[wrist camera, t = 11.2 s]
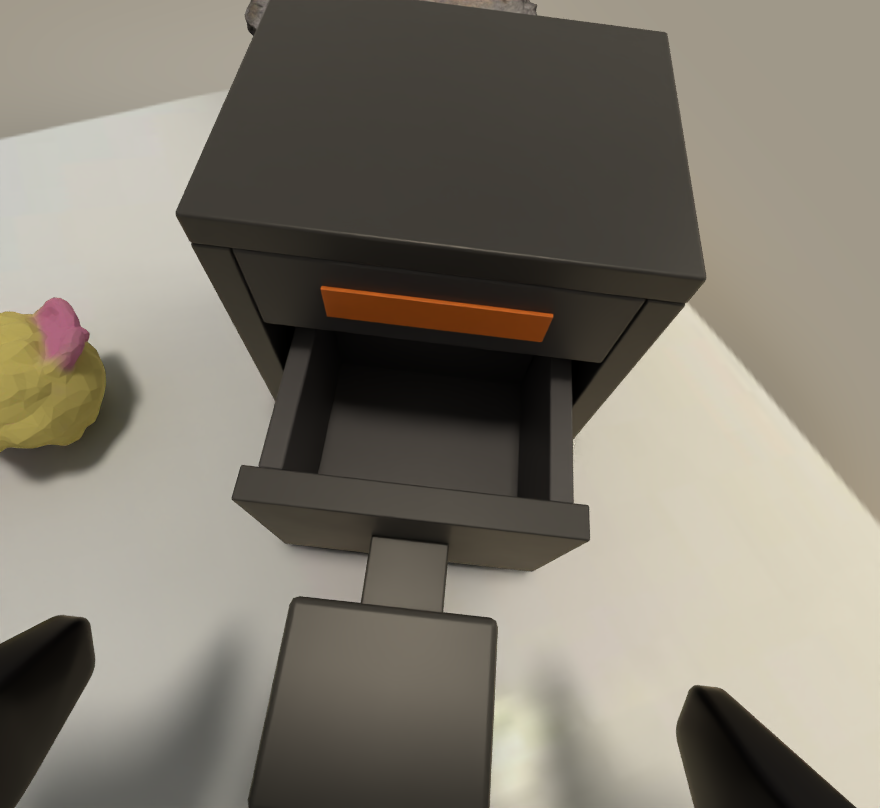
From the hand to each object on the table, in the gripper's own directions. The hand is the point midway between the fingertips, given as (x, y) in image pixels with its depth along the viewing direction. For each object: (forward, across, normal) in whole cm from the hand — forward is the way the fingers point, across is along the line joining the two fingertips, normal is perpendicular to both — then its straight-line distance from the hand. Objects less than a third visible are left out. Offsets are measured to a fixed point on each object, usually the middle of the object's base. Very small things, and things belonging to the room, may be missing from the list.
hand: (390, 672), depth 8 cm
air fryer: (+14, 0, -2) cm, 14 cm away
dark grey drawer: (+8, 0, +3) cm, 9 cm away
